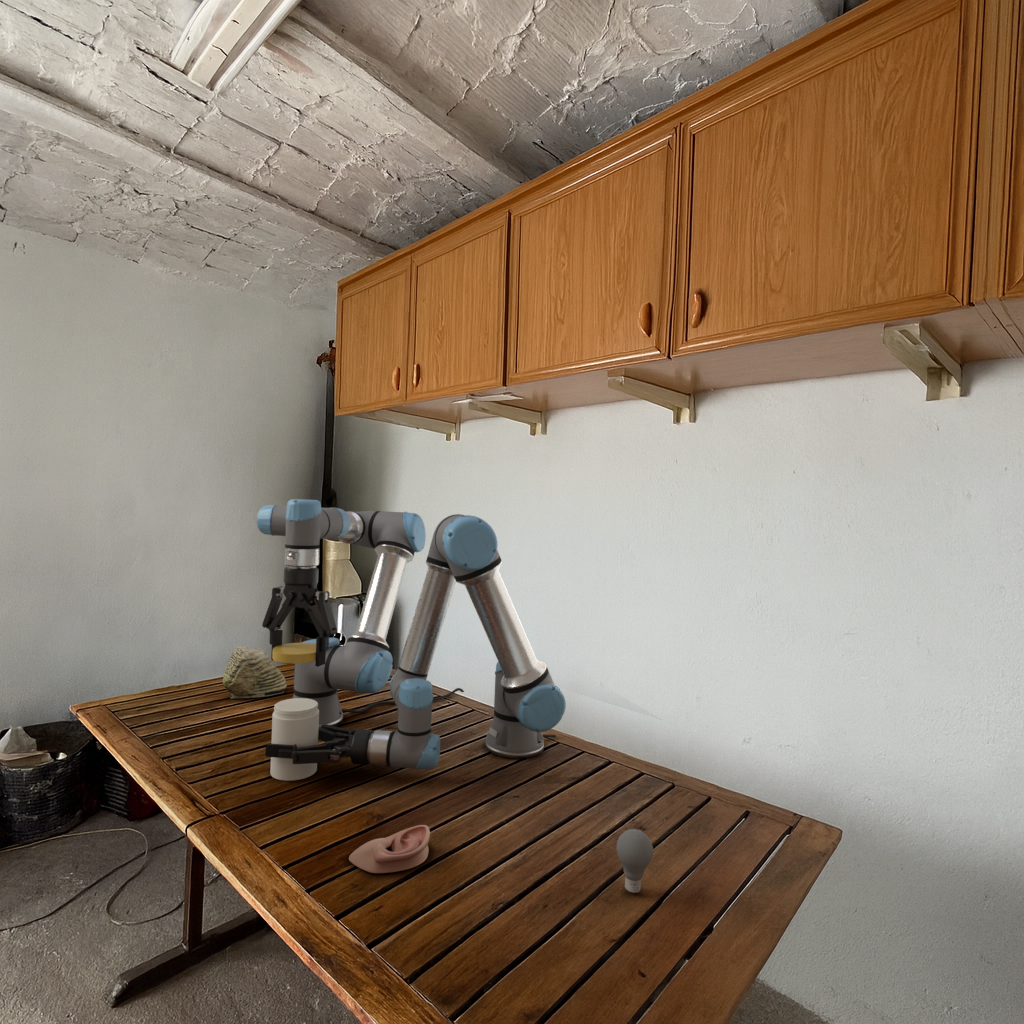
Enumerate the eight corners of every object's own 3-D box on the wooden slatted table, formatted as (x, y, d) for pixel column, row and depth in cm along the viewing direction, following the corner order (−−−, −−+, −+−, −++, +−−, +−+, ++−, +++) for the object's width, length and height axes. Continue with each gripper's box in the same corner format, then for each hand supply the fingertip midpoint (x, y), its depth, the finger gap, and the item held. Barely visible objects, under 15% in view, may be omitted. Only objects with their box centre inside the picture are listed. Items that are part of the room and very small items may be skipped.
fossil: (218, 695, 195) (220, 647, 195) (278, 685, 208) (279, 640, 207) (228, 703, 189) (230, 653, 188) (289, 692, 201) (290, 645, 201)
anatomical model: (341, 845, 108) (369, 813, 120) (340, 868, 108) (368, 833, 120) (414, 857, 106) (436, 823, 117) (413, 880, 106) (435, 844, 117)
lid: (306, 648, 153) (306, 640, 153) (333, 657, 146) (333, 649, 146) (262, 656, 144) (263, 647, 144) (288, 666, 137) (289, 656, 137)
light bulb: (610, 879, 108) (613, 822, 108) (644, 879, 109) (647, 822, 109) (619, 902, 102) (622, 840, 102) (655, 901, 103) (658, 840, 103)
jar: (321, 761, 151) (323, 697, 151) (311, 781, 141) (313, 712, 141) (277, 761, 150) (280, 697, 150) (264, 780, 140) (266, 711, 140)
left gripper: (247, 564, 145) (244, 659, 145) (336, 572, 138) (333, 672, 138) (269, 561, 152) (266, 652, 152) (355, 569, 145) (351, 664, 145)
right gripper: (355, 786, 133) (252, 778, 134) (384, 744, 156) (296, 738, 157) (356, 750, 133) (254, 743, 134) (385, 714, 155) (297, 708, 157)
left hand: (298, 662), depth 145 cm, fingers closed on lid, 11 cm apart
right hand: (277, 740), depth 146 cm, fingers closed on jar, 10 cm apart
